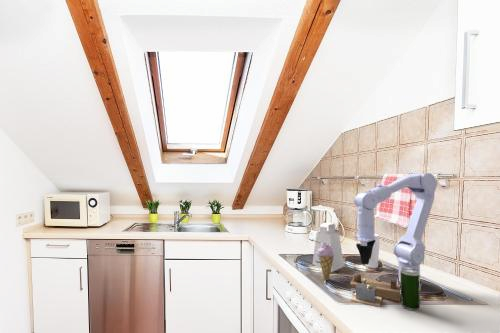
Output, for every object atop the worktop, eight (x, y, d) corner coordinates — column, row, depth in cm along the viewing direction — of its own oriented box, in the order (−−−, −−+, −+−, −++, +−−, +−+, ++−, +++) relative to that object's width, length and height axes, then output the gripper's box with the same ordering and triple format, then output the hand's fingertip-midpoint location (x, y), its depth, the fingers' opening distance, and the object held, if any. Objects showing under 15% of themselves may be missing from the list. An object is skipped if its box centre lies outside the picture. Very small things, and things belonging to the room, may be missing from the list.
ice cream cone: (323, 283, 109) (323, 245, 109) (314, 278, 114) (313, 241, 115) (337, 280, 112) (336, 243, 112) (326, 275, 117) (326, 240, 118)
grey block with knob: (358, 294, 98) (357, 280, 98) (376, 297, 95) (376, 284, 95) (355, 298, 94) (355, 285, 94) (375, 302, 91) (374, 288, 91)
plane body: (353, 285, 107) (353, 271, 107) (400, 293, 99) (399, 278, 100) (350, 291, 101) (350, 276, 101) (399, 301, 93) (399, 285, 93)
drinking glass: (367, 263, 133) (367, 232, 134) (382, 267, 128) (381, 234, 129) (361, 266, 128) (360, 234, 129) (376, 270, 124) (375, 236, 124)
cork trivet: (354, 293, 100) (354, 291, 100) (381, 298, 95) (381, 297, 96) (351, 300, 94) (351, 299, 94) (380, 306, 89) (380, 305, 89)
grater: (312, 266, 130) (311, 223, 130) (324, 261, 137) (324, 221, 137) (332, 271, 122) (331, 226, 123) (344, 266, 129) (343, 223, 130)
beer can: (404, 310, 87) (404, 272, 87) (398, 302, 92) (397, 266, 93) (423, 311, 86) (422, 273, 87) (415, 303, 92) (415, 267, 92)
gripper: (357, 221, 112) (358, 254, 112) (351, 227, 100) (352, 264, 99) (376, 222, 109) (377, 257, 109) (372, 228, 96) (373, 268, 96)
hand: (366, 261), depth 104 cm, fingers open, 7 cm apart
